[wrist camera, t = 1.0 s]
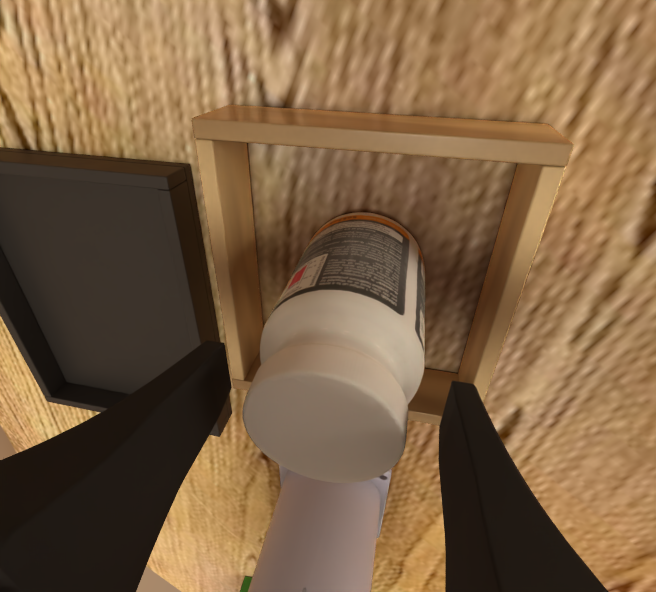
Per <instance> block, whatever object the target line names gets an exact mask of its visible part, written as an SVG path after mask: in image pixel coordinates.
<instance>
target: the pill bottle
mask: <svg viewBox="0 0 656 592" xmlns="http://www.w3.org/2000/svg"><path fill="white" fill-rule="evenodd" d="M424 317H425V267H424V260H423V256H422V253H421V251H420V248H419V246H418V244H417V242H416V240H415V239H414V238H413V236H412V235H411V234H410V233H409V232H408V231H407V230H406V229H405V228H404V227H402V226H401V225H400V224H399V223H397V222H395V221H393V220H391V219H389V218H387V217H384V216H381V215H378V214H374V213H366V212H360V213H350V214H345V215H341V216H339V217H336V218H334V219H332V220H331V221H329V222H327V223H326V224H325V225H323V226H322V227H321V228H320V229H319V230H318V231H317V232H316V233H315V235H314V236H313V237H312V239H311V241H310V242H309V244H308V246H307V248H306V249H305V251H304V252H303V255H302V257H301V258H300V260H299V262H298V264H297V266H296V268H295V270H294V272H293V274H292V276H291V278H290V280H289V282H288V284H287V285H286V287H285V289H284V291H283V293H282V295H281V296H280V298H279V300H278V302H277V304H276V305H275V307H274V309H273V311H272V312H271V314H270V316H269V318H268V320H267V322H266V324H265V326H264V329H263V332H262V336H261V342H260V360H261V366H260V367H259V369H258V371H257V372H256V375H255V377H254V379H253V381H252V384H251V386H250V388H249V391H248V393H247V396H246V398H245V401H244V405H243V420H244V424H245V428H246V430H247V432H248V434H249V436H250V438H251V439H252V441H253V442H254V443H255V445H256V446H257V447H258V448H259V449H260V450H261V451H262V452H263V453H264V454H265V455H267V456H268V457H269V458H270V459H272V460H273V461H275V462H276V463H278V464H279V465H281V466H283V467H285V468H287V469H288V470H291V471H293V472H295V473H298V474H300V475H303V476H306V477H309V478H312V479H316V480H321V481H326V482H333V483H353V482H362V481H368V480H371V479H374V478H376V477H379V476H381V475H383V474H385V473H386V472H388V471H389V470H390V469H392V468H393V467H394V466H395V465H396V464H397V462H398V461H399V459H400V458H401V456H402V454H403V451H404V448H405V443H406V433H407V421H408V404H409V402H410V401H411V400H412V398H413V397H414V395H415V394H416V392H417V390H418V388H419V386H420V383H421V380H422V377H423V374H424V367H425V336H424V333H425V321H424Z"/></svg>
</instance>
